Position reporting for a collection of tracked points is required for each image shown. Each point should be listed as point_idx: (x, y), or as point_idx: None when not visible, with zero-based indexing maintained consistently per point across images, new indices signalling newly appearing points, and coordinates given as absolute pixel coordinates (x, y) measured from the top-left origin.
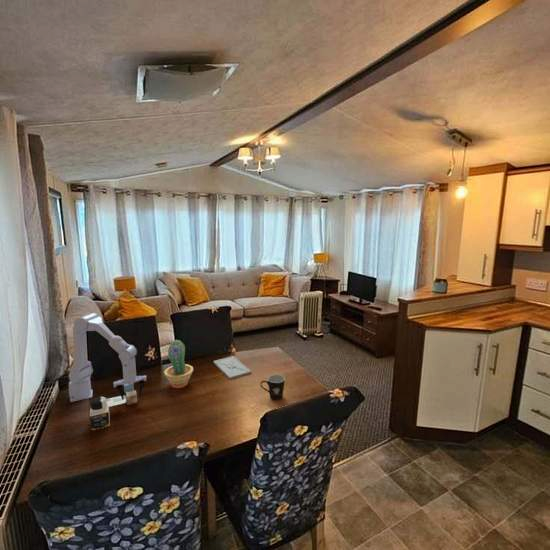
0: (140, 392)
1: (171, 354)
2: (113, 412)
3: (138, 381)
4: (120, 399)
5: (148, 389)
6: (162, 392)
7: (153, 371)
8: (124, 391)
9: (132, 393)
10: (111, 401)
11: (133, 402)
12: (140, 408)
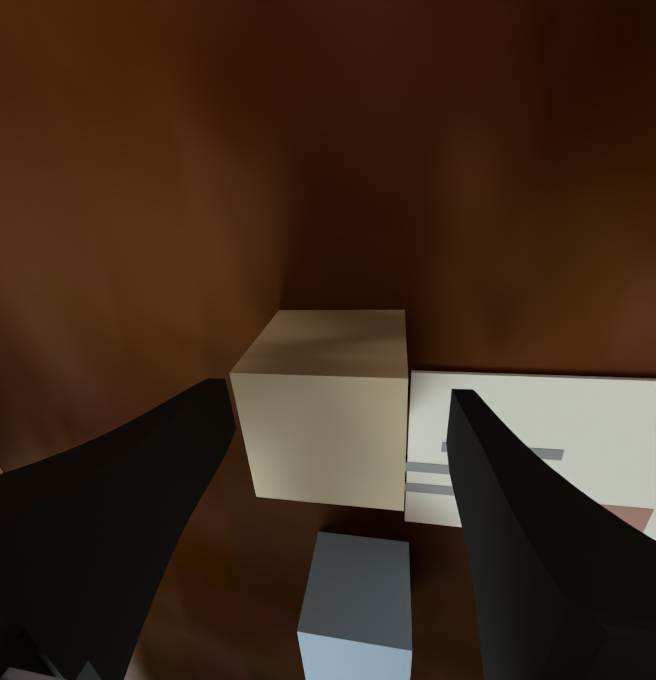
0: (172, 402)
1: None
2: (640, 190)
3: (21, 675)
4: None
5: None
6: (41, 392)
7: (189, 673)
8: (409, 568)
9: (303, 438)
10: (577, 477)
11: (321, 316)
12: (227, 126)
